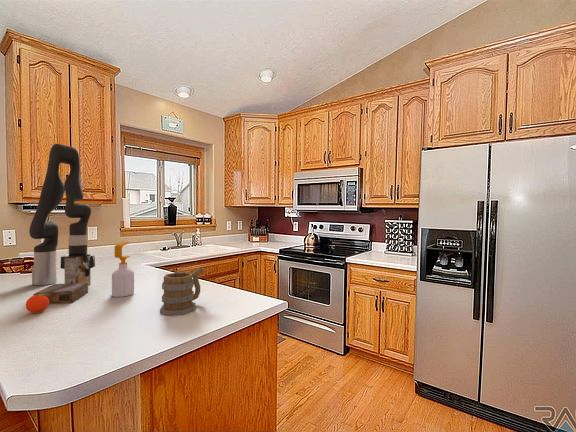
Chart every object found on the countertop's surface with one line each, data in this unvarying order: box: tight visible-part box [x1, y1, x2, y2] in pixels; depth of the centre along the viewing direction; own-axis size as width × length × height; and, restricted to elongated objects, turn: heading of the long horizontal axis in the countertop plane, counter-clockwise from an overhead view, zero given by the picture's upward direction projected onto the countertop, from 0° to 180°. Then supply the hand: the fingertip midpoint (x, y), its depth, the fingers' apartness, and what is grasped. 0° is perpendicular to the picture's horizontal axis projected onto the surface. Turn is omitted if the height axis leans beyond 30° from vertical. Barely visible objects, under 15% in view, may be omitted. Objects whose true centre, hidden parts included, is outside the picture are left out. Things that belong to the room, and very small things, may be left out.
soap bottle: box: [111, 241, 135, 298], centre depth 137 cm, size 9×9×25 cm
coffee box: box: [64, 253, 92, 287], centre depth 146 cm, size 9×6×16 cm
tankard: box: [159, 267, 205, 317], centre depth 119 cm, size 20×13×15 cm, turn 148°
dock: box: [32, 283, 89, 305], centre depth 130 cm, size 14×17×5 cm
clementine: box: [25, 294, 50, 314], centre depth 113 cm, size 8×7×7 cm
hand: (78, 276), depth 146 cm, fingers closed on coffee box, 8 cm apart
